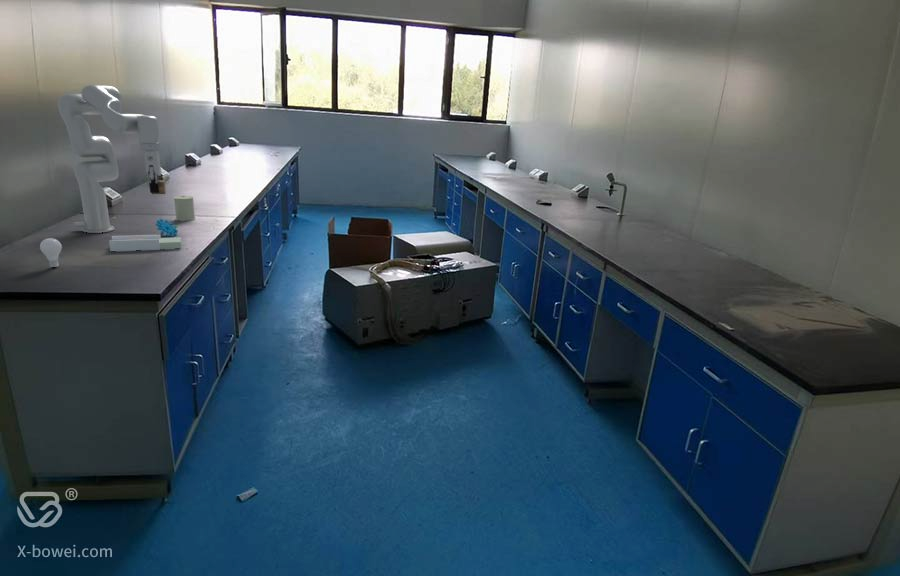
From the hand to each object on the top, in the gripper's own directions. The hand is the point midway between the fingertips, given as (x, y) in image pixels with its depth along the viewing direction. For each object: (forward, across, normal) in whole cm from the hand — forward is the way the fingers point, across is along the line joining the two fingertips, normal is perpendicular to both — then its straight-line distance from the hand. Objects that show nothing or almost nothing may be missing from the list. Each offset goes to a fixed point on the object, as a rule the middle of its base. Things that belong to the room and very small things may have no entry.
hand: (155, 191), depth 226 cm
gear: (+24, +17, -2) cm, 29 cm away
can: (+24, +53, -8) cm, 58 cm away
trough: (+23, -4, +5) cm, 24 cm away
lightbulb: (+24, -28, +33) cm, 49 cm away
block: (+1, 0, -1) cm, 2 cm away
